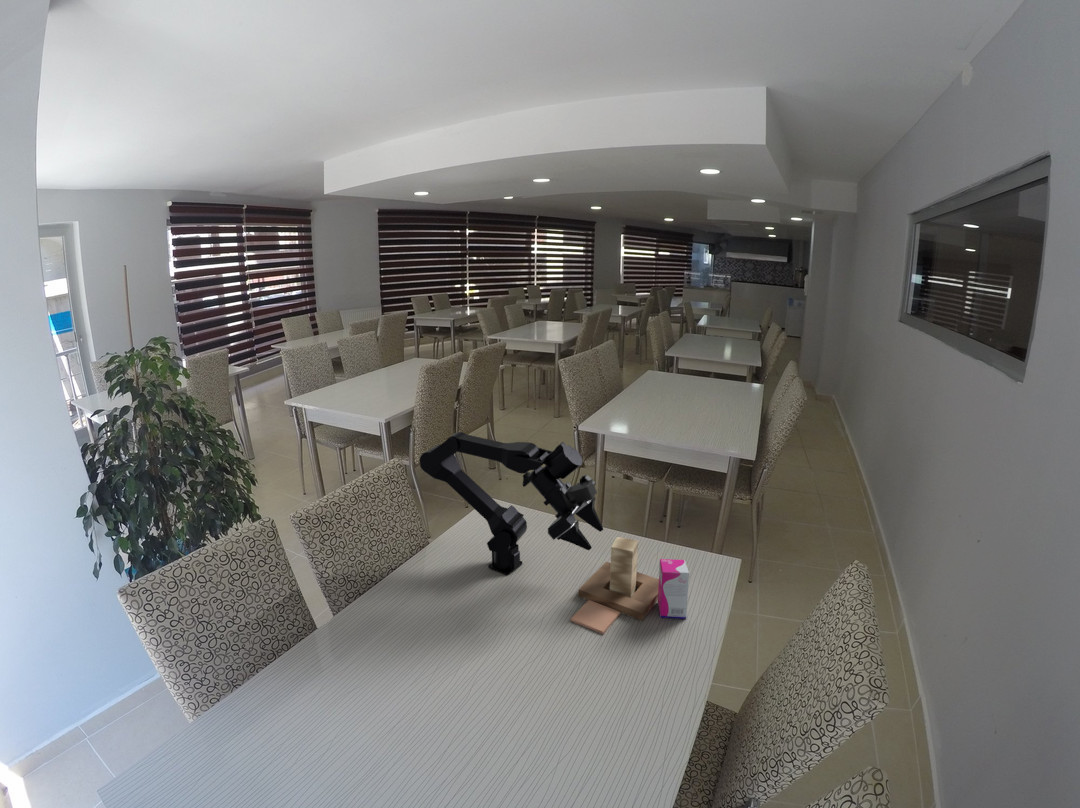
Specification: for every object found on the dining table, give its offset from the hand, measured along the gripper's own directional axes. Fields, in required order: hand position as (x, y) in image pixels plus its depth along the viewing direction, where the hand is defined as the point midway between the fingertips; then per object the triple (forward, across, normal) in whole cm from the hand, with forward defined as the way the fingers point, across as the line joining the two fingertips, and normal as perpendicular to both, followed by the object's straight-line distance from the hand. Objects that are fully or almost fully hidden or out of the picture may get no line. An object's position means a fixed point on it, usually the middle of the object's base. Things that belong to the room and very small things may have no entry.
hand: (596, 539), depth 133 cm
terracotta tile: (+12, -11, +6) cm, 17 cm away
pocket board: (+14, 0, +4) cm, 14 cm away
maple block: (+14, 0, +4) cm, 14 cm away
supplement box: (+22, -2, -4) cm, 23 cm away
